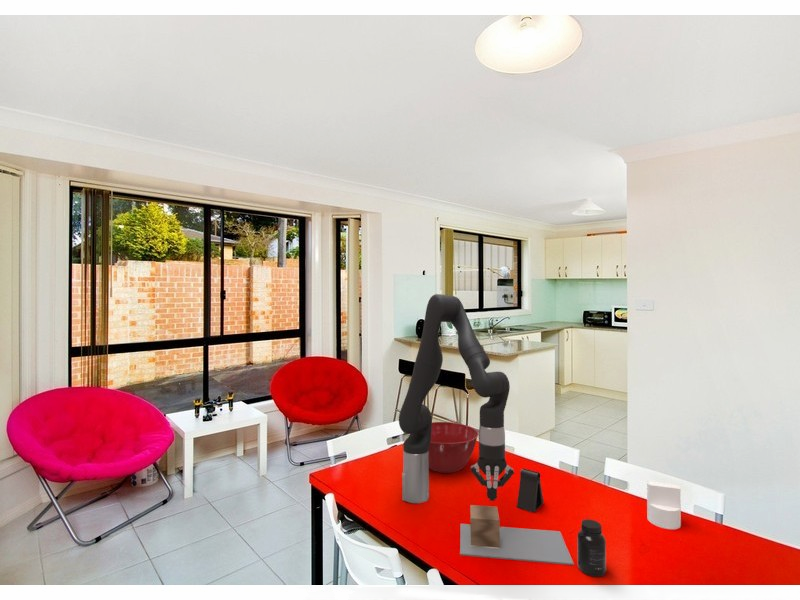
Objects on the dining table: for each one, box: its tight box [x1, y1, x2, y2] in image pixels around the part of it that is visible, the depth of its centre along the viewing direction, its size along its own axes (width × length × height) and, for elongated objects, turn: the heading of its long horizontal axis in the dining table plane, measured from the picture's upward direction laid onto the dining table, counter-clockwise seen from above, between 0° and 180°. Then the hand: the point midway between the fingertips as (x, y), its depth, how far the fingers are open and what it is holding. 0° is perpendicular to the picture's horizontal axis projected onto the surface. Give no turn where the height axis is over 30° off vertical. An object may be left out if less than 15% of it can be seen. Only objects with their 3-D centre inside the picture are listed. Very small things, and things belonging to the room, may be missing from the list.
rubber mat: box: [459, 523, 575, 566], centre depth 122 cm, size 30×16×1 cm, turn 81°
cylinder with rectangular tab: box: [646, 481, 682, 530], centre depth 133 cm, size 9×9×12 cm
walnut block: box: [469, 504, 500, 549], centre depth 123 cm, size 8×8×8 cm
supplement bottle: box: [576, 518, 607, 578], centre depth 110 cm, size 7×7×12 cm
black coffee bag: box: [516, 468, 545, 514], centre depth 145 cm, size 9×6×12 cm, turn 140°
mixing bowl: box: [429, 421, 479, 474], centre depth 178 cm, size 28×28×16 cm
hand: (492, 499), depth 123 cm, fingers closed
